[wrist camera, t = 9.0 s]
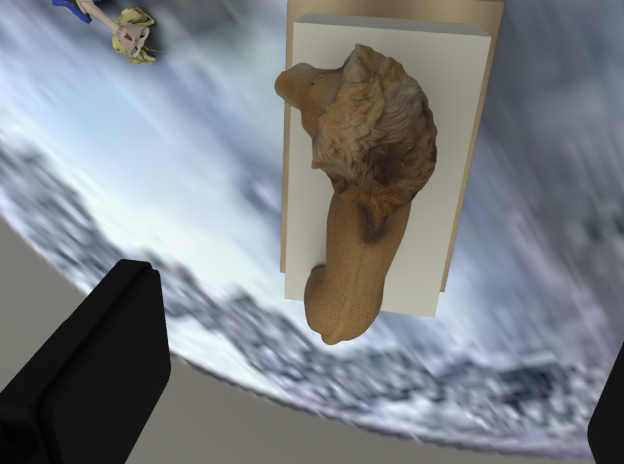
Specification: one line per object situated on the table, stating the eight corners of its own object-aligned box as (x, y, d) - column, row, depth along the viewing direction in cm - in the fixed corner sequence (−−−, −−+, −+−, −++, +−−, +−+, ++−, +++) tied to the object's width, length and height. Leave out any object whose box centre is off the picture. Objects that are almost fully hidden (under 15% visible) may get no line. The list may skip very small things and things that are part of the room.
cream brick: (477, 24, 24) (491, 37, 21) (429, 276, 31) (434, 317, 28) (307, 12, 25) (293, 22, 22) (296, 260, 32) (284, 298, 28)
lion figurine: (305, 20, 22) (254, 60, 14) (437, 20, 21) (462, 63, 13) (309, 309, 29) (276, 446, 21) (409, 317, 28) (414, 461, 20)
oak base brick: (491, -5, 27) (504, 2, 24) (439, 258, 35) (444, 292, 32) (301, -17, 28) (288, -13, 25) (291, 240, 36) (280, 272, 33)
